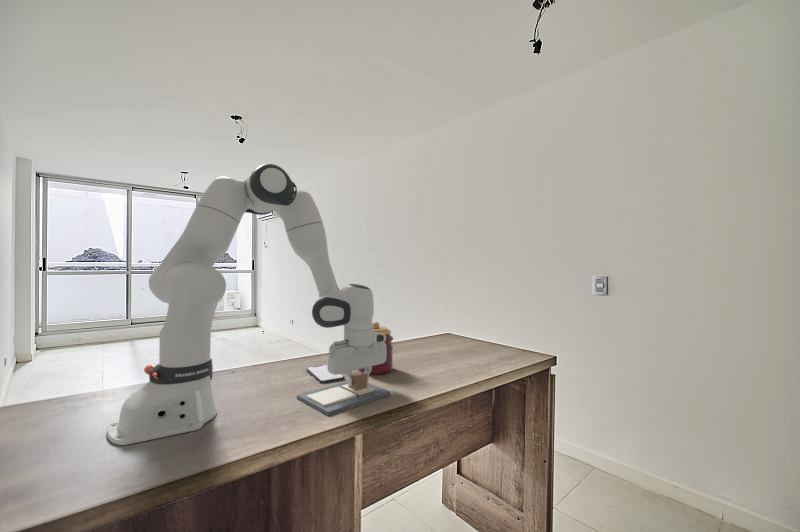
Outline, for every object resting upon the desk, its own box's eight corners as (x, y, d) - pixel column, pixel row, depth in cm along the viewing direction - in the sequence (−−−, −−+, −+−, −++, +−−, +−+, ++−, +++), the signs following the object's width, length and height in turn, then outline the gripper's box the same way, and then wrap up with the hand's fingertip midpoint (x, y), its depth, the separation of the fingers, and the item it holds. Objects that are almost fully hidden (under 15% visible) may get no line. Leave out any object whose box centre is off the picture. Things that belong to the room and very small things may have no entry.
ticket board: (328, 415, 96) (328, 409, 96) (296, 398, 107) (296, 392, 107) (390, 394, 111) (390, 389, 111) (357, 381, 122) (357, 376, 122)
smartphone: (346, 381, 124) (328, 368, 138) (346, 377, 124) (328, 364, 138) (320, 386, 119) (305, 372, 133) (320, 381, 119) (305, 367, 133)
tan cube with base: (359, 395, 107) (359, 380, 107) (341, 387, 114) (341, 372, 113) (375, 390, 111) (375, 375, 111) (356, 383, 118) (356, 369, 118)
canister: (376, 362, 145) (377, 317, 145) (400, 370, 136) (400, 322, 136) (350, 369, 136) (350, 321, 135) (373, 377, 127) (374, 326, 126)
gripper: (336, 344, 103) (335, 394, 103) (390, 334, 117) (389, 378, 117) (323, 340, 107) (322, 388, 107) (376, 331, 121) (376, 373, 122)
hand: (357, 383), depth 112 cm, fingers closed on tan cube with base, 4 cm apart
